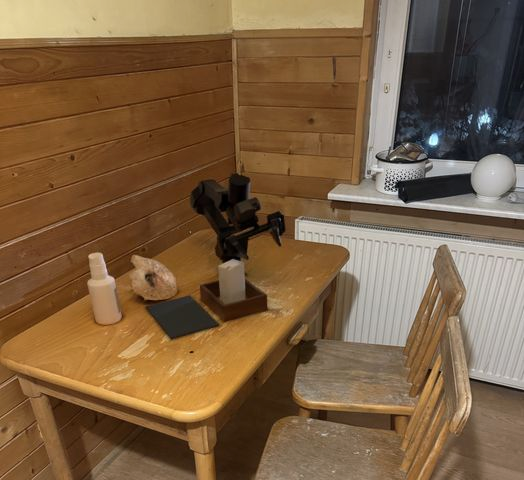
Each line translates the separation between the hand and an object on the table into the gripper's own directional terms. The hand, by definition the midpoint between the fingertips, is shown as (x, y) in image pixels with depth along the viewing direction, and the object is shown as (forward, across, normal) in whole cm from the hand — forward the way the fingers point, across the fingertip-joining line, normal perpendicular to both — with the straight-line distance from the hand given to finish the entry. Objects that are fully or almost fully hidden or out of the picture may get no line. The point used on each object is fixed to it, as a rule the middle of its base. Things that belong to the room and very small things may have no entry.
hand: (264, 251), depth 130 cm
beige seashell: (-18, -29, +16) cm, 38 cm away
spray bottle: (-8, -44, +9) cm, 45 cm away
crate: (-1, -11, +14) cm, 18 cm away
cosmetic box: (-1, -11, +15) cm, 18 cm away
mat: (0, -26, +11) cm, 28 cm away
